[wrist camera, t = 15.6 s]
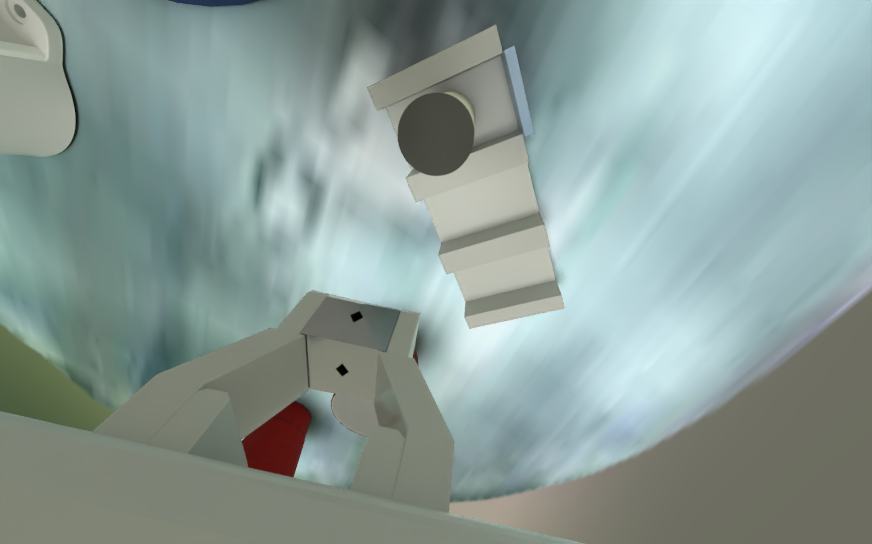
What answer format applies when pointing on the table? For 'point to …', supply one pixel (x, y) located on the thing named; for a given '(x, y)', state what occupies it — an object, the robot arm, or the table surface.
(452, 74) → the stepped cream block
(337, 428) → the table surface
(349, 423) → the mug
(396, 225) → the table surface
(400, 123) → the grey-capped cream cylinder
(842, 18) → the table surface
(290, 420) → the plastic cup
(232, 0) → the sun hat
